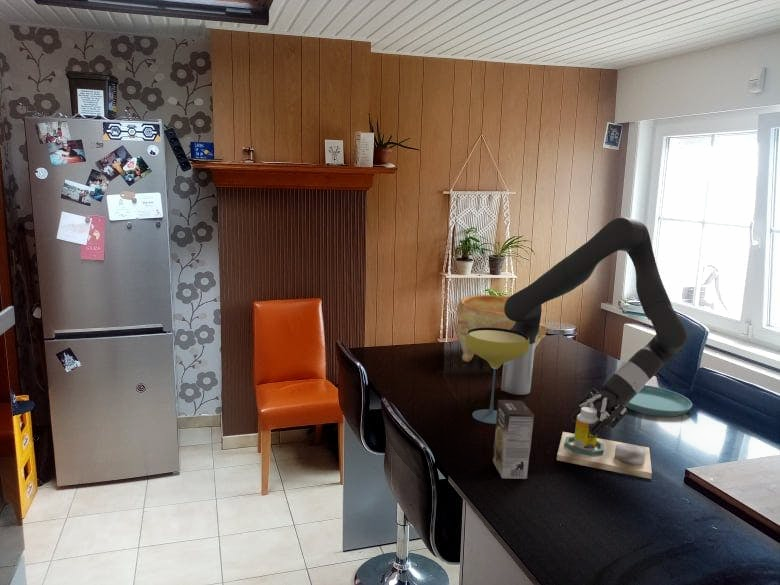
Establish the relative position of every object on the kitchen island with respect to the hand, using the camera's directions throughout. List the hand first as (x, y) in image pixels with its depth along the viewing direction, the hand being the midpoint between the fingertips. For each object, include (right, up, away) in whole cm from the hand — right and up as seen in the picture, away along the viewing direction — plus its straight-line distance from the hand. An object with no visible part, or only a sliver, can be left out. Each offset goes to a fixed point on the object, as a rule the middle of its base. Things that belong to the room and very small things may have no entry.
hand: (581, 426), depth 157 cm
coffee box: (-21, -8, -10) cm, 25 cm away
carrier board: (+6, -8, 0) cm, 9 cm away
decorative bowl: (-10, +8, +85) cm, 86 cm away
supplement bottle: (+1, -6, +2) cm, 6 cm away
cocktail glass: (-20, -2, +23) cm, 30 cm away
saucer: (+35, -2, +41) cm, 54 cm away
